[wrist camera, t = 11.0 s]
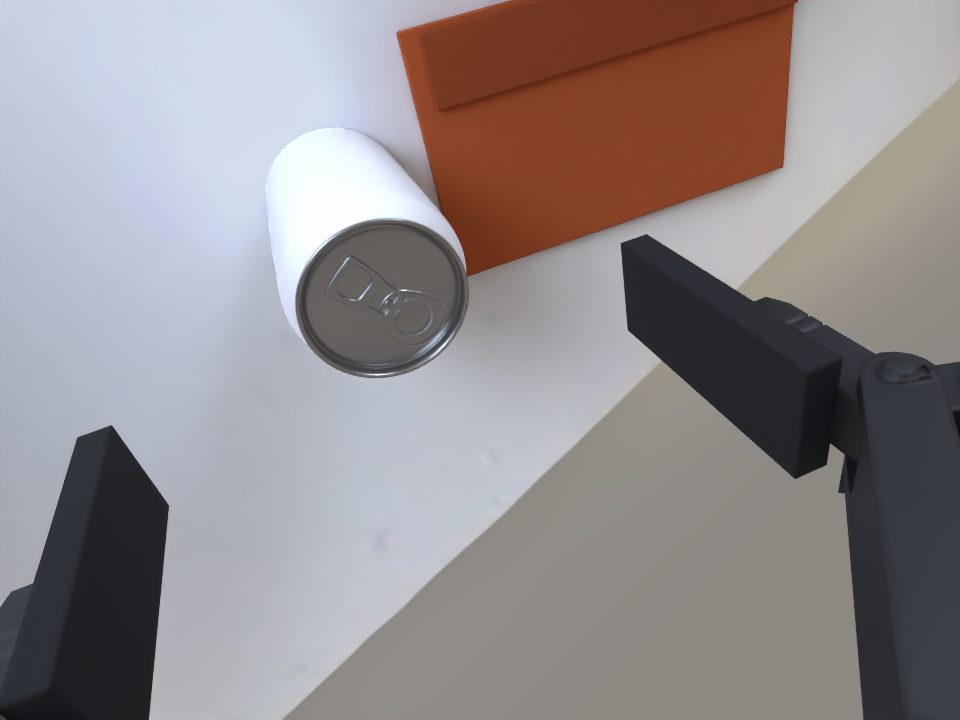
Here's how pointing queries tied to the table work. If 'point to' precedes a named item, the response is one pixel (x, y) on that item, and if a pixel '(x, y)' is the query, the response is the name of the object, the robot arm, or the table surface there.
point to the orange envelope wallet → (593, 112)
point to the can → (362, 256)
